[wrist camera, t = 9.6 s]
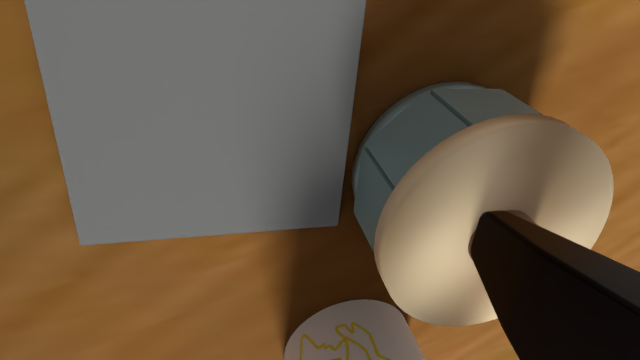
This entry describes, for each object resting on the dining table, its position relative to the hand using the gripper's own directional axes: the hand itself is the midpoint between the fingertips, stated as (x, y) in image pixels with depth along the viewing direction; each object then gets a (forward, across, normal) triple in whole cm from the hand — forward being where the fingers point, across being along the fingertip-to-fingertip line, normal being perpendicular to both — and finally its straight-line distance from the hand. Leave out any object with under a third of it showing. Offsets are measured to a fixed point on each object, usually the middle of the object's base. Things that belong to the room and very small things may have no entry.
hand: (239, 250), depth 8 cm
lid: (+8, -11, +6) cm, 15 cm away
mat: (+12, 0, +3) cm, 13 cm away
